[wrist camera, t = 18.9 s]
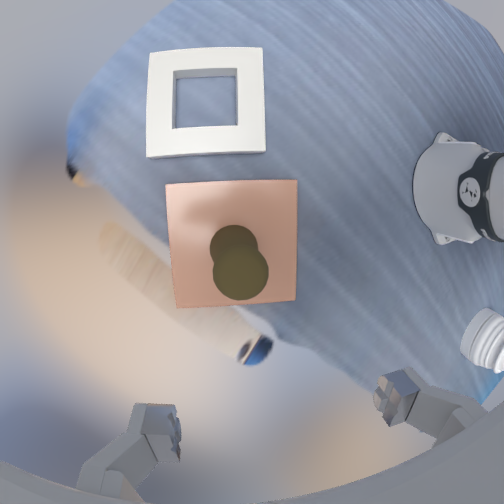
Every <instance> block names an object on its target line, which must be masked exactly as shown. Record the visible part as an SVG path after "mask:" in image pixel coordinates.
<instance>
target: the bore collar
mask: <svg viewBox="0 0 504 504" xmlns="http://www.w3.org/2000/svg"><path fill="white" fill-rule="evenodd" d="M219 76H235V84H236V126H207V127H190V128H177V129H176V79H183V78H197V77H219ZM265 151H266V144H265V109H264V79H263V53H262V48H254V47H210V48H192V49H180V50H170V51H161V52H154V53H150V58H149V70H148V86H147V111H146V157H147V158H150V159H158V158H169V157H182V156H196V155H216V154H256V153H263V152H265Z"/></svg>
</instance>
